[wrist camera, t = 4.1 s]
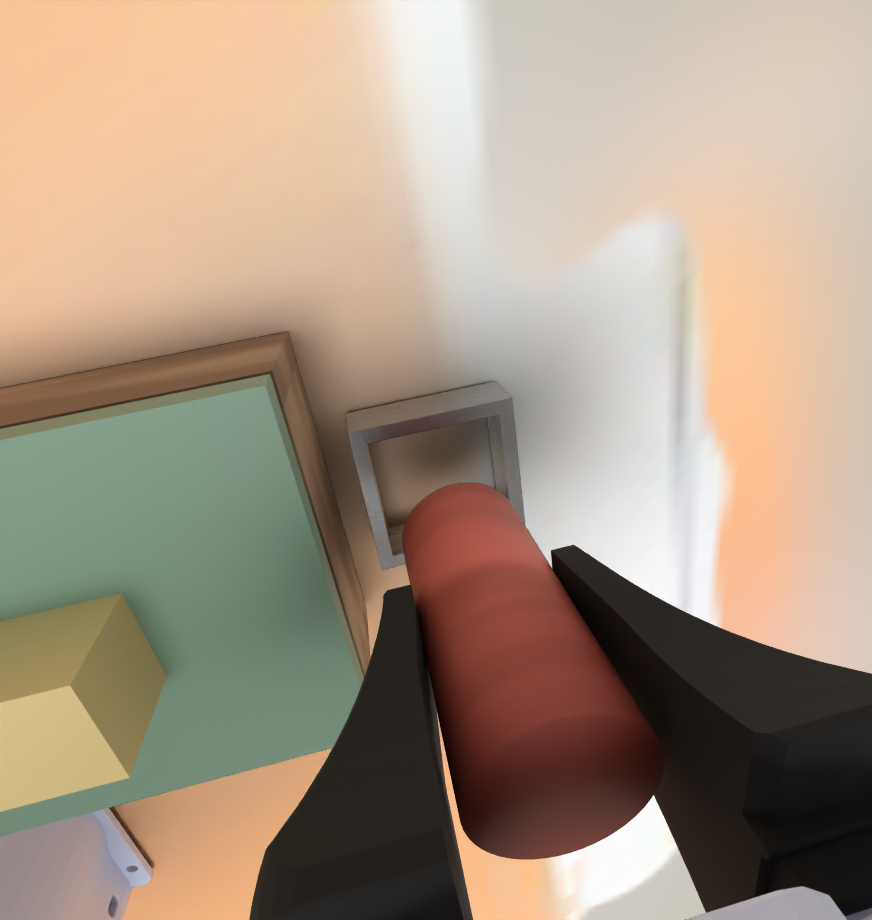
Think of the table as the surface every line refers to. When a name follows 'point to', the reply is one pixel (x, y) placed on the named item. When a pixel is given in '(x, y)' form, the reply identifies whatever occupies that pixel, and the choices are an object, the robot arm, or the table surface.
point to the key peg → (521, 685)
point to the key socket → (429, 416)
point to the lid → (160, 603)
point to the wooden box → (205, 371)
